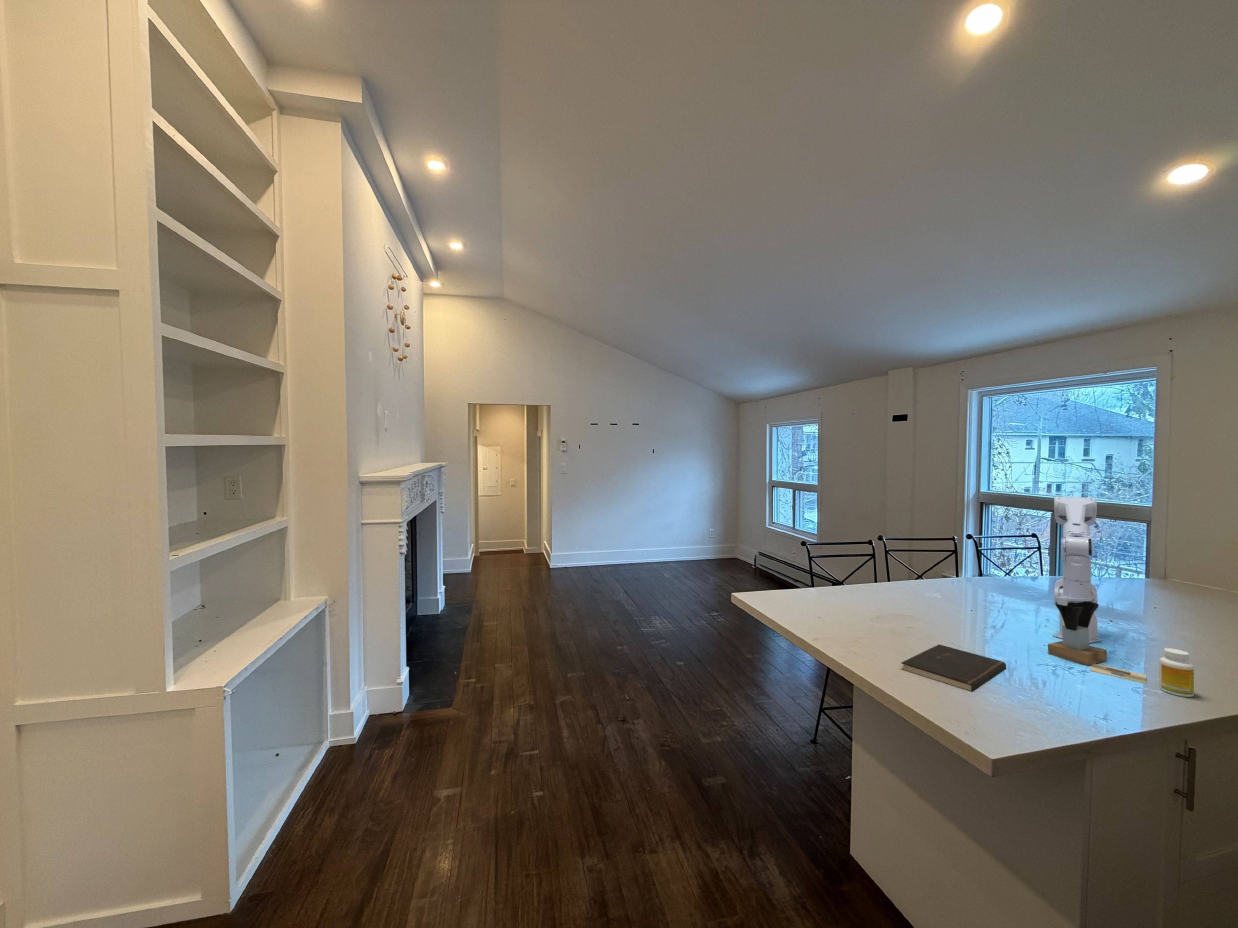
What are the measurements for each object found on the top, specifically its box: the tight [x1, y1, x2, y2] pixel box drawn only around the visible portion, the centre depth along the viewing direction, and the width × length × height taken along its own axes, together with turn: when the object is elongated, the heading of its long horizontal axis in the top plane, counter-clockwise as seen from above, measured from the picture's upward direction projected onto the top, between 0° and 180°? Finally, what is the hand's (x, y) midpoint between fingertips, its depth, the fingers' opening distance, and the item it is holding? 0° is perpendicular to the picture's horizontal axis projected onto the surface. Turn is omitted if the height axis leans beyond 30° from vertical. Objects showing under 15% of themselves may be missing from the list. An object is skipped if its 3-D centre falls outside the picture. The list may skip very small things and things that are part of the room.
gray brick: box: [1062, 625, 1090, 650], centre depth 137 cm, size 4×4×6 cm
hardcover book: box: [900, 643, 1007, 692], centre depth 129 cm, size 16×23×2 cm
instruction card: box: [1089, 663, 1148, 685], centre depth 127 cm, size 7×10×1 cm
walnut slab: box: [1047, 640, 1108, 666], centre depth 137 cm, size 9×9×3 cm
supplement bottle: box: [1158, 647, 1195, 698], centre depth 116 cm, size 5×5×10 cm
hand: (1076, 628), depth 137 cm, fingers open, 5 cm apart
